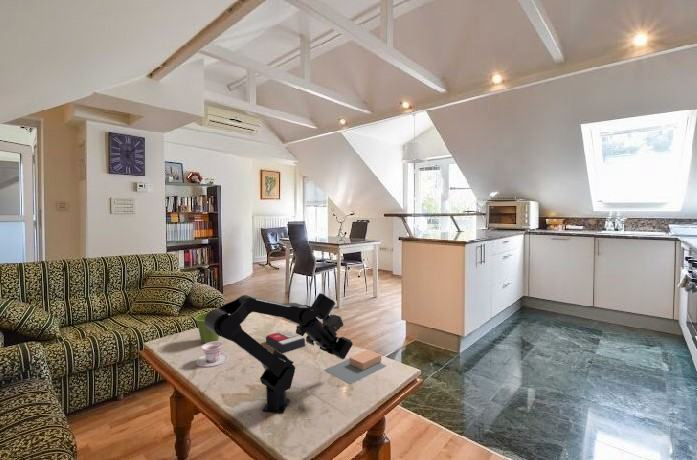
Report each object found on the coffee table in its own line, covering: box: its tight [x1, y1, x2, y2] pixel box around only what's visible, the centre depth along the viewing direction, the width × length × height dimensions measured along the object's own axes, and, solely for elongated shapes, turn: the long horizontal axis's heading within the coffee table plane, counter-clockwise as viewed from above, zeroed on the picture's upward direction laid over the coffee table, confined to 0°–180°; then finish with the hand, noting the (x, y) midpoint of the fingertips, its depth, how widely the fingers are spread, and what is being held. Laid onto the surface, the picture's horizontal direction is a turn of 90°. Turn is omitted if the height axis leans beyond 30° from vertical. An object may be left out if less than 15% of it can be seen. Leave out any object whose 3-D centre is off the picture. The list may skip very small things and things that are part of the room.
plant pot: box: [194, 311, 220, 344], centre depth 153 cm, size 12×12×11 cm
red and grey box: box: [265, 329, 306, 354], centre depth 148 cm, size 11×4×15 cm
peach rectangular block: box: [348, 349, 382, 370], centre depth 129 cm, size 3×7×10 cm
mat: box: [324, 358, 387, 385], centre depth 125 cm, size 18×14×1 cm
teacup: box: [195, 340, 230, 368], centre depth 134 cm, size 12×12×6 cm
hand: (341, 353), depth 120 cm, fingers closed
